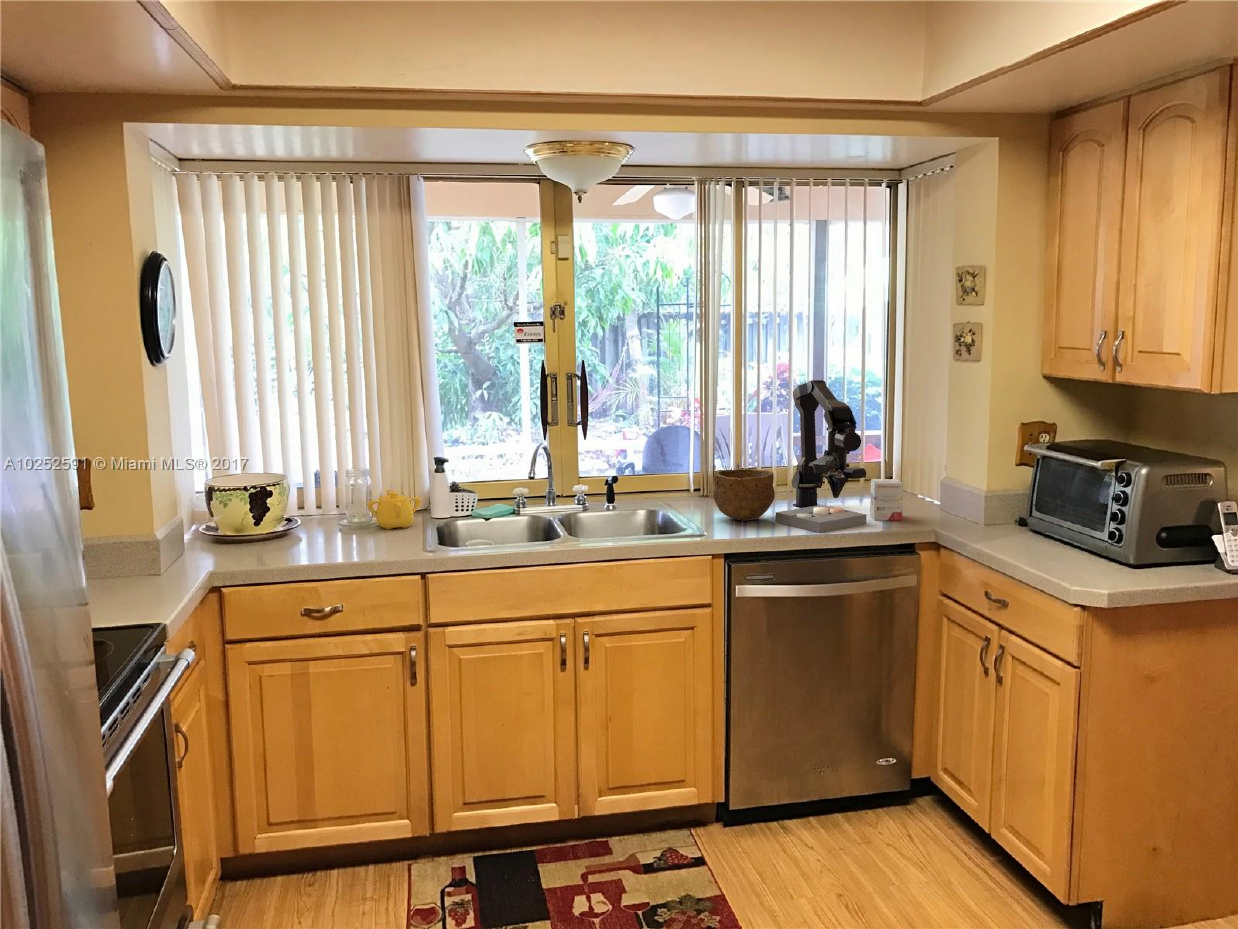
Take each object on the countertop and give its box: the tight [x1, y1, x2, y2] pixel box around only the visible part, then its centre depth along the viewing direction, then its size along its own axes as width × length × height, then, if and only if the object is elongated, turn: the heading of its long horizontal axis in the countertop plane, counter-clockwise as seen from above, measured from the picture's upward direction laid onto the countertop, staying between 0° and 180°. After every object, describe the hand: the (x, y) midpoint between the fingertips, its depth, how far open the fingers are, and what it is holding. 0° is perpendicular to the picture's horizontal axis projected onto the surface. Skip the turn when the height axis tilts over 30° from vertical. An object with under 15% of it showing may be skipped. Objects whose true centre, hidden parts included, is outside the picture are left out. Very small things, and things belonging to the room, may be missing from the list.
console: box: [774, 504, 867, 533], centre depth 293 cm, size 18×20×3 cm
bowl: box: [712, 468, 776, 521], centre depth 297 cm, size 19×19×15 cm
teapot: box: [366, 489, 422, 530], centre depth 290 cm, size 14×13×10 cm
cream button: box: [813, 507, 828, 516], centre depth 293 cm, size 4×4×3 cm
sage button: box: [797, 513, 812, 519], centre depth 289 cm, size 4×4×3 cm
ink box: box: [869, 478, 904, 521], centre depth 300 cm, size 9×9×12 cm
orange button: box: [830, 507, 846, 513], centre depth 297 cm, size 4×4×3 cm
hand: (835, 497), depth 295 cm, fingers closed
